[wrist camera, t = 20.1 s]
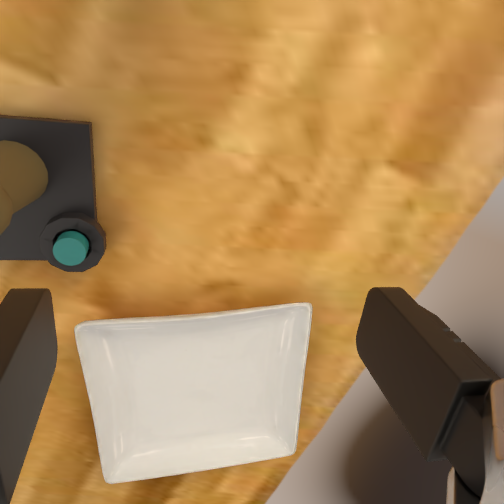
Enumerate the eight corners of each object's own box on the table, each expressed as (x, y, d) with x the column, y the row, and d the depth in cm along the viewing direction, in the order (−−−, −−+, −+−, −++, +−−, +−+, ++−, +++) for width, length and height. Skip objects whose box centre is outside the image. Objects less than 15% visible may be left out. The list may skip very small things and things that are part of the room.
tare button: (55, 230, 39) (50, 237, 38) (88, 230, 40) (85, 238, 38) (58, 257, 40) (54, 265, 39) (89, 257, 41) (87, 266, 40)
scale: (-55, 110, 35) (-72, 115, 33) (102, 122, 38) (97, 128, 36) (-24, 257, 42) (-37, 271, 39) (108, 258, 44) (105, 272, 42)
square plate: (289, 435, 63) (296, 457, 60) (107, 462, 58) (103, 488, 55) (305, 288, 51) (316, 305, 48) (77, 306, 46) (70, 326, 43)
